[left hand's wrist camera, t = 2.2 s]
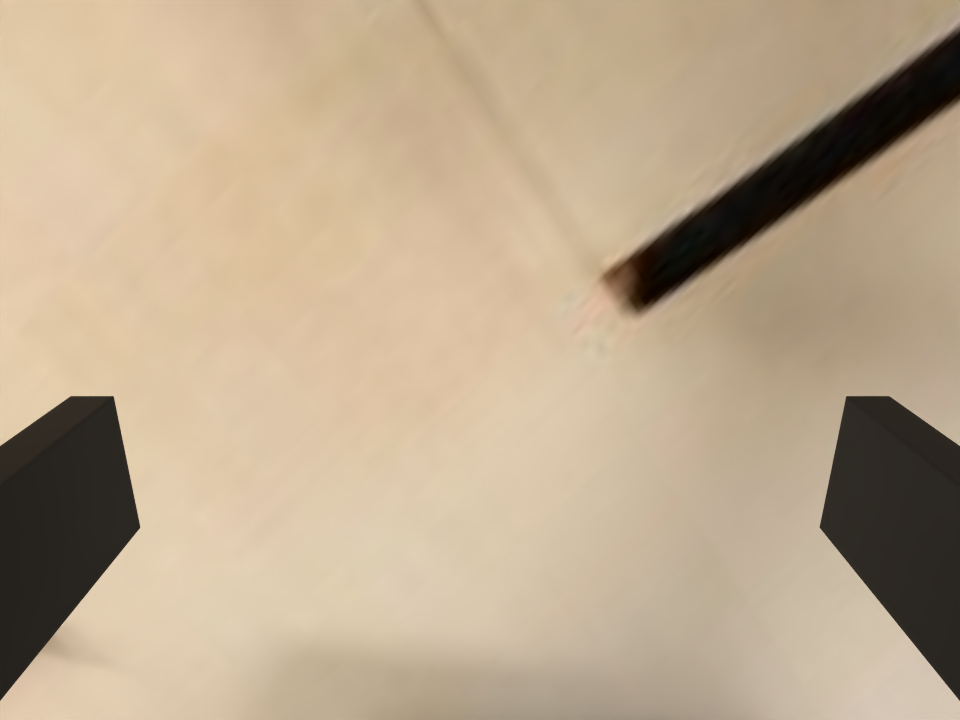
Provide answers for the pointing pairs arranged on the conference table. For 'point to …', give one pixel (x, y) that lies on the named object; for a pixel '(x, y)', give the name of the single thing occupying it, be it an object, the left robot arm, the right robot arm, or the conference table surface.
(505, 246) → the conference table surface
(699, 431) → the conference table surface
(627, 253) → the conference table surface
